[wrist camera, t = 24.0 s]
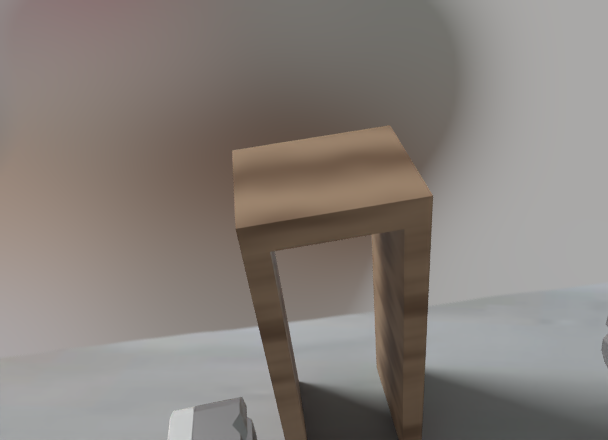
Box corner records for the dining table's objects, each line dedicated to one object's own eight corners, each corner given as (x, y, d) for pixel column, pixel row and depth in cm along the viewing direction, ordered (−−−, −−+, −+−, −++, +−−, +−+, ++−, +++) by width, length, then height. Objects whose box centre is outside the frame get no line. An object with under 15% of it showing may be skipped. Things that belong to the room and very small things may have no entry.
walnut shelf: (421, 449, 44) (433, 195, 29) (293, 473, 44) (235, 228, 28) (392, 364, 51) (389, 125, 36) (282, 384, 51) (232, 150, 36)
